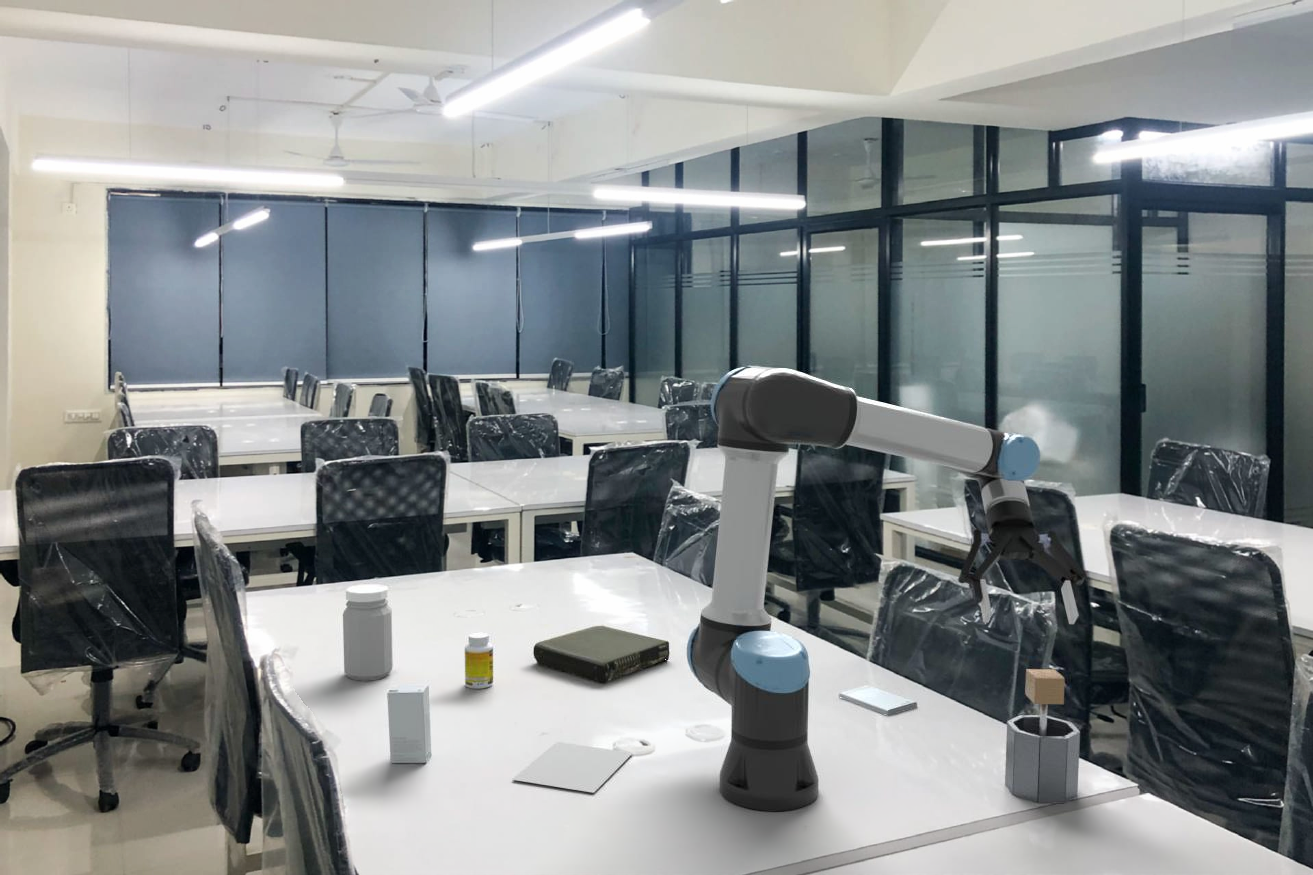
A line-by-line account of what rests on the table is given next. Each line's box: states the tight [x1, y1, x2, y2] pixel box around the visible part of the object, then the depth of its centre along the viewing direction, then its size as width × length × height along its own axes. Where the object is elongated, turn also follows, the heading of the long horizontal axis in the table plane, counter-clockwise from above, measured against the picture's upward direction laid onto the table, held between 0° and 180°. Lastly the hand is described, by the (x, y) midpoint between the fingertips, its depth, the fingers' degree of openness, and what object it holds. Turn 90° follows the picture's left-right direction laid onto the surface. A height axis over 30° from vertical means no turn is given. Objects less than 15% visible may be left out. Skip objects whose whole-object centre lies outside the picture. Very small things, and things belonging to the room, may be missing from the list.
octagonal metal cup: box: [1004, 714, 1081, 804], centre depth 166 cm, size 10×10×10 cm
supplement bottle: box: [464, 632, 494, 690], centre depth 214 cm, size 6×6×10 cm
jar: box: [342, 583, 394, 681], centre depth 221 cm, size 10×10×18 cm
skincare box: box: [386, 684, 432, 764], centre depth 177 cm, size 6×4×12 cm
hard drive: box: [838, 684, 918, 716], centre depth 206 cm, size 2×8×12 cm
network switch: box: [532, 625, 670, 685], centre depth 230 cm, size 23×24×5 cm
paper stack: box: [511, 732, 634, 794], centre depth 180 cm, size 23×25×1 cm
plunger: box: [1024, 668, 1066, 736], centre depth 165 cm, size 7×7×16 cm
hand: (1030, 619), depth 172 cm, fingers open, 13 cm apart
